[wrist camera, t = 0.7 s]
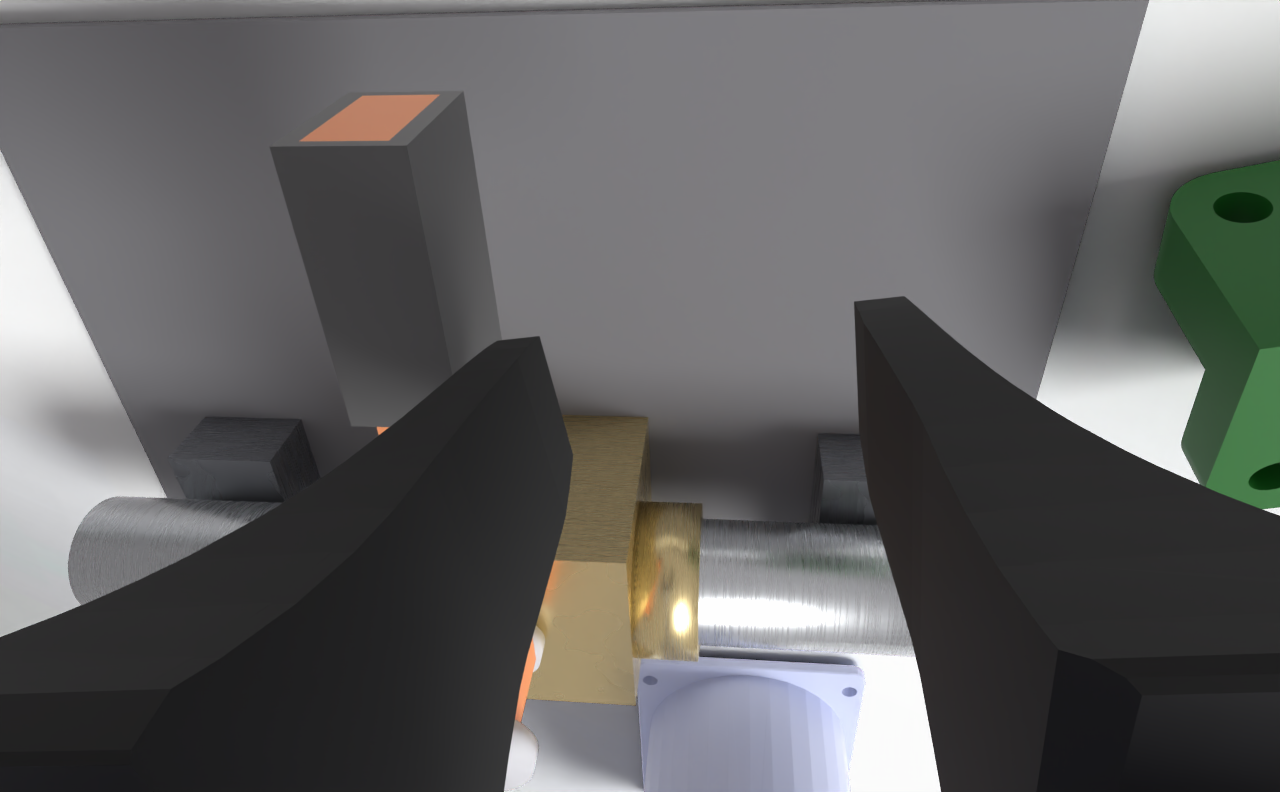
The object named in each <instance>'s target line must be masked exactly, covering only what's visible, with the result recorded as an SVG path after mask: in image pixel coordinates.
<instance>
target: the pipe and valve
mask: <svg viewBox="0 0 1280 792" xmlns="http://www.w3.org/2000/svg"><path fill="white" fill-rule="evenodd" d="M562 417H563V421H564V424H565V428H566V431H567V435H568V438H569V442H570V445H571V449H572V452H573V463H572V472H571V481H570V490H569V497H568V504H567V511H566V518H565V522H564V525H563V529H562V533H561V537H560V541H559V544H558V548H557V552H556V555H555V559H554V563H553V566H552V570H551V574H550V577H549V581H548V584H547V588H546V591H545V595H544V599H543V602H542V606H541V609H540V613H539V616H538V620H537V624H536V626H537V627H538V628H539V629H540V630H541V631H542V632H543V634H544V636H545V645H544V649H543V654H542V658H541V662H540V665H539V667H538V669H537V670H536V671H534V672H533V674H532V678H531V682H530V686H529V690H528V695H527V699H535V700H552V701H568V702H584V703H601V704H617V705H633V706H636V699H637V690H638V681H639V673H640V664H641V659H659V660H677V661H695V662H698V660H699V648H700V645H705V646H724V647H743V648H761V649H780V650H799V651H817V652H836V653H855V654H873V655H892V656H911V657H916V656H915V652H914V648H913V644H912V640H911V637H910V633H909V630H908V627H907V623H906V620H905V616H904V613H903V610H902V606H901V603H900V599H899V596H898V593H897V589H896V586H895V583H894V579H893V576H892V572H891V569H890V566H889V562H888V559H887V555H886V552H885V549H884V545H883V542H882V538H881V535H880V532H879V528H878V525H877V521H876V518H875V514H874V511H873V507H872V504H871V500H870V497H869V491H868V485H867V479H866V473H865V467H864V460H863V454H862V447H861V441H860V434H835V433H818V436H817V446H816V455H815V465H814V474H813V484H812V494H811V503H810V513H809V522H808V523H802V522H776V521H750V520H723V519H703V503H678V502H652V498H651V474H650V449H649V424H648V417H630V416H591V415H562ZM168 460H169V463H170V465H171V467H172V469H173V471H174V473H175V476H176V478H177V480H178V482H179V484H180V486H181V489H182V491H183V493H184V495H185V497H186V499H171V498H145V497H112V498H109V499H106V500H104V501H102V502H101V503H99V504H98V505H96V506H95V507H94V508H93V509H92V510H91V511H90V512H89V513H88V514H87V515H86V516H85V518H84V519H83V521H82V522H81V524H80V526H79V527H78V529H77V531H76V534H75V536H74V538H73V542H72V545H71V549H70V553H69V561H68V573H69V581H70V585H71V588H72V591H73V593H74V595H75V597H76V599H77V600H78V601H79V603H80V604H81V605H83V604H86V603H88V602H91V601H93V600H95V599H97V598H100V597H102V596H104V595H106V594H109V593H111V592H113V591H115V590H117V589H120V588H122V587H124V586H126V585H129V584H131V583H133V582H135V581H138V580H140V579H142V578H144V577H146V576H148V575H150V574H152V573H154V572H156V571H158V570H160V569H163V568H165V567H167V566H169V565H171V564H173V563H175V562H177V561H179V560H181V559H183V558H185V557H187V556H189V555H191V554H193V553H195V552H196V551H198V550H200V549H202V548H204V547H206V546H207V545H209V544H211V543H213V542H215V541H216V540H218V539H220V538H222V537H224V536H226V535H227V534H229V533H231V532H233V531H235V530H237V529H238V528H240V527H242V526H244V525H246V524H248V523H249V522H251V521H253V520H255V519H257V518H258V517H260V516H262V515H264V514H265V513H267V512H269V511H270V510H272V509H274V508H275V507H277V506H279V505H280V504H282V503H283V502H285V501H286V500H288V499H290V498H291V497H293V496H294V495H296V494H297V493H299V492H301V491H302V490H304V489H305V488H307V487H308V486H310V485H312V484H313V483H314V482H316V481H317V480H319V479H320V478H321V477H320V474H319V471H318V468H317V465H316V462H315V459H314V456H313V453H312V450H311V447H310V444H309V441H308V438H307V435H306V432H305V429H304V426H303V423H302V420H301V419H282V418H245V417H208V416H205V417H204V419H203V420H202V421H201V422H200V423H199V424H198V425H197V426H196V427H195V429H194V430H193V431H192V432H191V433H190V434H189V435H188V436H187V437H186V439H185V440H184V441H183V442H182V443H181V444H180V445H179V446H178V447H177V449H176V450H175V451H174V452H173V453H172V454H171V455H170V456H169V457H168Z"/></svg>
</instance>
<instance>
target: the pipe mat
mask: <svg viewBox="0 0 1280 792" xmlns="http://www.w3.org/2000/svg"><path fill="white" fill-rule="evenodd" d="M1148 3H1149V0H954V1H914V2H874V3H833V4H793V5H753V6H712V7H672V8H632V9H591V10H551V11H511V12H470V13H430V14H390V15H349V16H309V17H269V18H228V19H188V20H148V21H107V22H67V23H27V24H0V150H1V152H2V154H3V156H4V158H5V160H6V162H7V164H8V166H9V168H10V170H11V172H12V175H13V177H14V179H15V181H16V183H17V185H18V187H19V189H20V191H21V193H22V195H23V197H24V200H25V202H26V204H27V206H28V208H29V210H30V212H31V214H32V216H33V218H34V220H35V222H36V225H37V227H38V229H39V231H40V233H41V235H42V237H43V239H44V241H45V243H46V245H47V248H48V250H49V252H50V254H51V256H52V258H53V260H54V262H55V264H56V266H57V268H58V270H59V273H60V275H61V277H62V279H63V281H64V283H65V285H66V287H67V289H68V291H69V293H70V295H71V298H72V300H73V302H74V304H75V306H76V308H77V310H78V312H79V314H80V316H81V318H82V320H83V323H84V325H85V327H86V329H87V331H88V333H89V335H90V337H91V339H92V341H93V343H94V345H95V348H96V350H97V352H98V354H99V356H100V358H101V360H102V362H103V364H104V366H105V368H106V370H107V373H108V375H109V377H110V379H111V381H112V383H113V385H114V387H115V389H116V391H117V393H118V396H119V398H120V400H121V402H122V404H123V406H124V408H125V410H126V412H127V414H128V416H129V418H130V421H131V423H132V425H133V427H134V429H135V431H136V433H137V435H138V437H139V439H140V441H141V443H142V446H143V448H144V450H145V452H146V454H147V456H148V458H149V460H150V462H151V464H152V466H153V468H154V471H155V473H156V475H157V477H158V479H159V481H160V483H161V485H162V487H163V489H164V491H165V493H166V496H167V498H171V499H186V497H185V495H184V493H183V491H182V489H181V486H180V484H179V482H178V480H177V478H176V476H175V473H174V471H173V469H172V467H171V465H170V463H169V460H168V457H169V456H170V455H171V454H172V453H173V452H174V451H175V450H176V449H177V447H178V446H179V445H180V444H181V443H182V442H183V441H184V440H185V439H186V437H187V436H188V435H189V434H190V433H191V432H192V431H193V430H194V429H195V427H196V426H197V425H198V424H199V423H200V422H201V421H202V420H203V419H204V417H205V416H208V417H245V418H282V419H301V420H302V423H303V426H304V429H305V432H306V435H307V438H308V441H309V444H310V447H311V450H312V453H313V456H314V459H315V462H316V465H317V468H318V471H319V474H320V477H321V478H322V477H323V476H325V475H326V474H328V473H329V472H331V471H332V470H333V469H335V468H336V467H338V466H339V465H340V464H342V463H343V462H345V461H346V460H347V459H349V458H350V457H351V456H353V455H354V454H355V453H356V452H358V451H359V450H360V449H362V448H363V447H364V446H366V445H367V444H368V443H369V442H371V441H372V440H373V439H375V438H376V437H377V436H379V434H378V431H377V427H363V426H351V423H350V420H349V416H348V413H347V410H346V406H345V403H344V399H343V396H342V393H341V389H340V386H339V382H338V379H337V376H336V372H335V369H334V365H333V362H332V359H331V355H330V352H329V348H328V345H327V341H326V338H325V335H324V331H323V328H322V324H321V321H320V318H319V314H318V311H317V307H316V304H315V301H314V297H313V294H312V290H311V287H310V284H309V280H308V277H307V273H306V270H305V267H304V263H303V260H302V256H301V253H300V250H299V246H298V243H297V239H296V236H295V233H294V229H293V226H292V222H291V219H290V216H289V212H288V209H287V205H286V202H285V199H284V195H283V192H282V188H281V185H280V182H279V178H278V175H277V171H276V168H275V164H274V161H273V158H272V154H271V151H270V147H269V146H271V145H272V144H274V143H275V142H277V141H278V140H280V139H281V138H283V137H284V136H286V135H287V134H288V133H290V132H291V131H293V130H294V129H296V128H297V127H299V126H300V125H302V124H303V123H305V122H306V121H307V120H309V119H310V118H312V117H313V116H315V115H316V114H318V113H319V112H321V111H322V110H324V109H325V108H327V107H328V106H329V105H331V104H332V103H334V102H335V101H337V100H338V99H340V98H341V97H343V96H344V95H346V94H347V93H349V92H411V91H464V97H465V103H466V110H467V116H468V123H469V129H470V136H471V142H472V149H473V155H474V162H475V168H476V175H477V181H478V188H479V194H480V201H481V207H482V214H483V220H484V227H485V233H486V240H487V246H488V253H489V259H490V266H491V272H492V278H493V285H494V291H495V298H496V304H497V311H498V317H499V324H500V330H501V337H502V340H508V339H517V338H526V337H535V336H540V339H541V343H542V346H543V350H544V353H545V357H546V360H547V364H548V368H549V371H550V375H551V378H552V382H553V385H554V389H555V392H556V396H557V399H558V403H559V406H560V410H561V414H562V415H591V416H630V417H648V424H649V449H650V474H651V498H652V502H678V503H703V519H723V520H750V521H776V522H802V523H808V522H809V513H810V503H811V494H812V484H813V474H814V465H815V455H816V446H817V436H818V433H835V434H859V416H858V391H857V366H856V341H855V316H854V301H863V300H872V299H882V298H891V297H900V296H905V297H906V298H907V299H909V300H910V301H911V302H912V303H913V304H914V305H916V306H917V307H918V308H919V309H920V310H921V311H923V312H924V313H925V314H926V315H927V316H928V317H929V318H931V319H932V320H933V321H934V322H935V323H936V324H937V325H939V326H940V327H941V328H942V329H943V330H944V331H945V332H947V333H948V334H949V335H950V336H951V337H953V338H954V339H955V340H956V341H957V342H958V343H960V344H961V345H962V346H963V347H964V348H966V349H967V350H968V351H969V352H971V353H972V354H973V355H974V356H976V357H977V358H978V359H980V360H981V361H982V362H983V363H985V364H986V365H987V366H989V367H990V368H991V369H992V370H994V371H995V372H997V373H998V374H999V375H1001V376H1002V377H1003V378H1005V379H1006V380H1008V381H1009V382H1010V383H1012V384H1013V385H1015V386H1016V387H1018V388H1019V389H1021V390H1022V391H1024V392H1025V393H1027V394H1028V395H1030V396H1031V397H1033V398H1034V399H1036V398H1037V394H1038V391H1039V387H1040V384H1041V380H1042V377H1043V373H1044V370H1045V366H1046V363H1047V359H1048V356H1049V352H1050V348H1051V345H1052V341H1053V338H1054V334H1055V331H1056V327H1057V324H1058V320H1059V317H1060V313H1061V310H1062V306H1063V303H1064V299H1065V296H1066V292H1067V288H1068V285H1069V281H1070V278H1071V274H1072V271H1073V267H1074V264H1075V260H1076V257H1077V253H1078V250H1079V246H1080V243H1081V239H1082V236H1083V232H1084V228H1085V225H1086V221H1087V218H1088V214H1089V211H1090V207H1091V204H1092V200H1093V197H1094V193H1095V190H1096V186H1097V183H1098V179H1099V175H1100V172H1101V168H1102V165H1103V161H1104V158H1105V154H1106V151H1107V147H1108V144H1109V140H1110V137H1111V133H1112V130H1113V126H1114V123H1115V119H1116V115H1117V112H1118V108H1119V105H1120V101H1121V98H1122V94H1123V91H1124V87H1125V84H1126V80H1127V77H1128V73H1129V70H1130V66H1131V63H1132V59H1133V55H1134V52H1135V48H1136V45H1137V41H1138V38H1139V34H1140V31H1141V27H1142V24H1143V20H1144V17H1145V13H1146V10H1147V6H1148Z"/></svg>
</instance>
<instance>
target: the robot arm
mask: <svg viewBox="0 0 1280 792" xmlns="http://www.w3.org/2000/svg"><path fill="white" fill-rule="evenodd" d="M854 316H855V341H856V366H857V391H858V416H859V434H860V441H861V447H862V454H863V460H864V467H865V473H866V479H867V485H868V491H869V497H870V500H871V504H872V507H873V511H874V514H875V518H876V521H877V525H878V528H879V532H880V535H881V538H882V542H883V545H884V549H885V552H886V555H887V559H888V562H889V566H890V569H891V572H892V576H893V579H894V583H895V586H896V589H897V593H898V596H899V599H900V603H901V606H902V610H903V613H904V616H905V620H906V623H907V627H908V630H909V633H910V637H911V640H912V644H913V648H914V652H915V656H916V660H917V664H918V669H919V673H920V677H921V683H922V688H923V693H924V699H925V704H926V710H927V715H928V721H929V726H930V731H931V737H932V742H933V748H934V753H935V759H936V765H937V770H938V776H939V782H940V787H941V792H1280V516H1279V515H1276V514H1273V513H1270V512H1268V511H1265V510H1262V509H1260V508H1257V507H1255V506H1252V505H1249V504H1247V503H1244V502H1242V501H1239V500H1236V499H1234V498H1231V497H1228V496H1226V495H1223V494H1221V493H1218V492H1216V491H1214V490H1211V489H1209V488H1207V487H1204V486H1202V485H1200V484H1198V483H1195V482H1193V481H1191V480H1188V479H1186V478H1184V477H1181V476H1179V475H1177V474H1175V473H1172V472H1170V471H1168V470H1165V469H1163V468H1161V467H1158V466H1156V465H1154V464H1152V463H1150V462H1148V461H1146V460H1144V459H1142V458H1139V457H1137V456H1135V455H1133V454H1131V453H1129V452H1127V451H1125V450H1123V449H1121V448H1119V447H1117V446H1116V445H1114V444H1112V443H1110V442H1108V441H1106V440H1104V439H1103V438H1101V437H1099V436H1097V435H1095V434H1093V433H1091V432H1090V431H1088V430H1086V429H1084V428H1082V427H1080V426H1078V425H1077V424H1075V423H1073V422H1071V421H1070V420H1068V419H1066V418H1065V417H1063V416H1061V415H1060V414H1058V413H1056V412H1055V411H1053V410H1051V409H1050V408H1048V407H1047V406H1045V405H1044V404H1042V403H1041V402H1039V401H1037V400H1036V399H1034V398H1033V397H1031V396H1030V395H1028V394H1027V393H1025V392H1024V391H1022V390H1021V389H1019V388H1018V387H1016V386H1015V385H1013V384H1012V383H1010V382H1009V381H1008V380H1006V379H1005V378H1003V377H1002V376H1001V375H999V374H998V373H997V372H995V371H994V370H992V369H991V368H990V367H989V366H987V365H986V364H985V363H983V362H982V361H981V360H980V359H978V358H977V357H976V356H974V355H973V354H972V353H971V352H969V351H968V350H967V349H966V348H964V347H963V346H962V345H961V344H960V343H958V342H957V341H956V340H955V339H954V338H953V337H951V336H950V335H949V334H948V333H947V332H945V331H944V330H943V329H942V328H941V327H940V326H939V325H937V324H936V323H935V322H934V321H933V320H932V319H931V318H929V317H928V316H927V315H926V314H925V313H924V312H923V311H921V310H920V309H919V308H918V307H917V306H916V305H914V304H913V303H912V302H911V301H910V300H909V299H907V298H906V297H905V296H900V297H891V298H882V299H872V300H863V301H854ZM572 463H573V452H572V449H571V445H570V442H569V438H568V435H567V431H566V428H565V424H564V421H563V417H562V414H561V410H560V406H559V403H558V399H557V396H556V392H555V389H554V385H553V382H552V378H551V375H550V371H549V368H548V364H547V360H546V357H545V353H544V350H543V346H542V343H541V339H540V336H535V337H526V338H517V339H508V340H498V341H496V342H494V343H493V344H491V345H490V346H488V347H487V348H485V349H484V350H483V351H481V352H480V353H479V354H477V355H476V356H475V357H474V358H472V359H471V360H470V361H469V362H467V363H466V364H465V365H464V366H463V367H461V368H460V369H459V370H458V371H457V372H455V373H454V374H453V375H452V376H451V377H450V378H448V379H447V380H446V381H445V382H444V383H442V384H441V385H440V386H439V387H438V388H436V389H435V390H434V391H433V392H432V393H431V394H429V395H428V396H427V397H426V398H425V399H423V400H422V401H421V402H420V403H419V404H417V405H416V406H415V407H414V408H413V409H411V410H410V411H409V412H408V413H407V414H405V415H404V416H403V417H402V418H401V419H399V420H398V421H397V422H395V423H394V424H393V425H392V426H390V427H389V428H388V429H386V430H385V431H384V432H382V433H381V434H380V435H379V436H377V437H376V438H375V439H373V440H372V441H371V442H369V443H368V444H367V445H366V446H364V447H363V448H362V449H360V450H359V451H358V452H356V453H355V454H354V455H353V456H351V457H350V458H349V459H347V460H346V461H345V462H343V463H342V464H340V465H339V466H338V467H336V468H335V469H333V470H332V471H331V472H329V473H328V474H326V475H325V476H323V477H322V478H320V479H319V480H317V481H316V482H314V483H313V484H312V485H310V486H308V487H307V488H305V489H304V490H302V491H301V492H299V493H297V494H296V495H294V496H293V497H291V498H290V499H288V500H286V501H285V502H283V503H282V504H280V505H279V506H277V507H275V508H274V509H272V510H270V511H269V512H267V513H265V514H264V515H262V516H260V517H258V518H257V519H255V520H253V521H251V522H249V523H248V524H246V525H244V526H242V527H240V528H238V529H237V530H235V531H233V532H231V533H229V534H227V535H226V536H224V537H222V538H220V539H218V540H216V541H215V542H213V543H211V544H209V545H207V546H206V547H204V548H202V549H200V550H198V551H196V552H195V553H193V554H191V555H189V556H187V557H185V558H183V559H181V560H179V561H177V562H175V563H173V564H171V565H169V566H167V567H165V568H163V569H160V570H158V571H156V572H154V573H152V574H150V575H148V576H146V577H144V578H142V579H140V580H138V581H135V582H133V583H131V584H129V585H126V586H124V587H122V588H120V589H117V590H115V591H113V592H111V593H109V594H106V595H104V596H102V597H100V598H97V599H95V600H93V601H91V602H88V603H86V604H83V605H81V606H79V607H76V608H74V609H72V610H69V611H67V612H64V613H62V614H59V615H57V616H54V617H52V618H49V619H47V620H44V621H41V622H39V623H36V624H34V625H31V626H28V627H26V628H23V629H21V630H18V631H15V632H13V633H10V634H8V635H5V636H2V637H0V792H504V788H505V781H506V774H507V766H508V759H509V753H510V747H511V741H512V735H513V728H514V722H515V716H516V710H517V704H518V698H519V692H520V686H521V682H522V678H523V673H524V669H525V664H526V660H527V656H528V652H529V649H530V645H531V641H532V638H533V634H534V631H535V627H536V624H537V620H538V616H539V613H540V609H541V606H542V602H543V599H544V595H545V591H546V588H547V584H548V581H549V577H550V574H551V570H552V566H553V563H554V559H555V555H556V552H557V548H558V544H559V541H560V537H561V533H562V529H563V525H564V522H565V518H566V511H567V504H568V497H569V490H570V481H571V472H572ZM865 683H866V682H865V676H864V671H863V670H862V669H861V668H859V667H857V666H853V665H838V664H820V663H802V662H783V661H765V660H747V659H729V658H711V657H699V660H698V662H695V661H677V660H659V659H641V664H640V673H639V681H638V690H637V694H638V709H639V725H640V740H641V756H642V771H643V786H644V792H851V790H850V781H849V770H850V764H851V759H852V753H853V748H854V742H855V737H856V732H857V726H858V721H859V715H860V710H861V705H862V699H863V694H864V688H865Z"/></svg>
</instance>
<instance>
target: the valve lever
mask: <svg viewBox="0 0 1280 792" xmlns="http://www.w3.org/2000/svg"><path fill="white" fill-rule="evenodd" d="M269 147H270V151H271V154H272V158H273V161H274V164H275V168H276V171H277V175H278V178H279V182H280V185H281V188H282V192H283V195H284V199H285V202H286V205H287V209H288V212H289V216H290V219H291V222H292V226H293V229H294V233H295V236H296V239H297V243H298V246H299V250H300V253H301V256H302V260H303V263H304V267H305V270H306V273H307V277H308V280H309V284H310V287H311V290H312V294H313V297H314V301H315V304H316V307H317V311H318V314H319V318H320V321H321V324H322V328H323V331H324V335H325V338H326V341H327V345H328V348H329V352H330V355H331V359H332V362H333V365H334V369H335V372H336V376H337V379H338V382H339V386H340V389H341V393H342V396H343V399H344V403H345V406H346V410H347V413H348V416H349V420H350V423H351V426H363V427H377V431H378V434H379V435H380V434H381V433H382V432H384V431H385V430H386V429H388V428H389V427H390V426H392V425H393V424H394V423H395V422H397V421H398V420H399V419H401V418H402V417H403V416H404V415H405V414H407V413H408V412H409V411H410V410H411V409H413V408H414V407H415V406H416V405H417V404H419V403H420V402H421V401H422V400H423V399H425V398H426V397H427V396H428V395H429V394H431V393H432V392H433V391H434V390H435V389H436V388H438V387H439V386H440V385H441V384H442V383H444V382H445V381H446V380H447V379H448V378H450V377H451V376H452V375H453V374H454V373H455V372H457V371H458V370H459V369H460V368H461V367H463V366H464V365H465V364H466V363H467V362H469V361H470V360H471V359H472V358H474V357H475V356H476V355H477V354H479V353H480V352H481V351H483V350H484V349H485V348H487V347H488V346H490V345H491V344H493V343H494V342H496V341H498V340H502V337H501V330H500V324H499V317H498V311H497V304H496V298H495V291H494V285H493V278H492V272H491V266H490V259H489V253H488V246H487V240H486V233H485V227H484V220H483V214H482V207H481V201H480V194H479V188H478V181H477V175H476V168H475V162H474V155H473V149H472V142H471V136H470V129H469V123H468V116H467V110H466V103H465V97H464V91H411V92H349V93H347V94H346V95H344V96H343V97H341V98H340V99H338V100H337V101H335V102H334V103H332V104H331V105H329V106H328V107H327V108H325V109H324V110H322V111H321V112H319V113H318V114H316V115H315V116H313V117H312V118H310V119H309V120H307V121H306V122H305V123H303V124H302V125H300V126H299V127H297V128H296V129H294V130H293V131H291V132H290V133H288V134H287V135H286V136H284V137H283V138H281V139H280V140H278V141H277V142H275V143H274V144H272V145H271V146H269ZM544 645H545V636H544V634H543V632H542V631H541V630H540V629H539V628H538V627H537V626H536V627H535V631H534V634H533V638H532V641H531V645H530V649H529V652H528V656H527V660H526V664H525V669H524V673H523V678H522V682H521V686H520V692H519V698H518V704H517V710H516V716H515V722H514V728H513V735H512V741H511V747H510V753H509V759H508V766H507V774H506V781H505V788H504V791H509V790H514V789H517V788H520V787H522V786H524V785H525V784H527V783H528V782H529V781H530V780H531V778H532V776H533V774H534V770H535V765H536V760H537V756H538V751H539V744H538V741H537V739H536V737H535V735H534V734H533V733H532V732H531V731H530V729H528V728H527V727H526V726H525V725H523V724H522V723H521V719H522V715H523V711H524V707H525V703H526V699H527V695H528V690H529V686H530V682H531V678H532V674H533V672H534V671H536V670H537V669H538V667H539V665H540V662H541V658H542V654H543V649H544Z"/></svg>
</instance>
